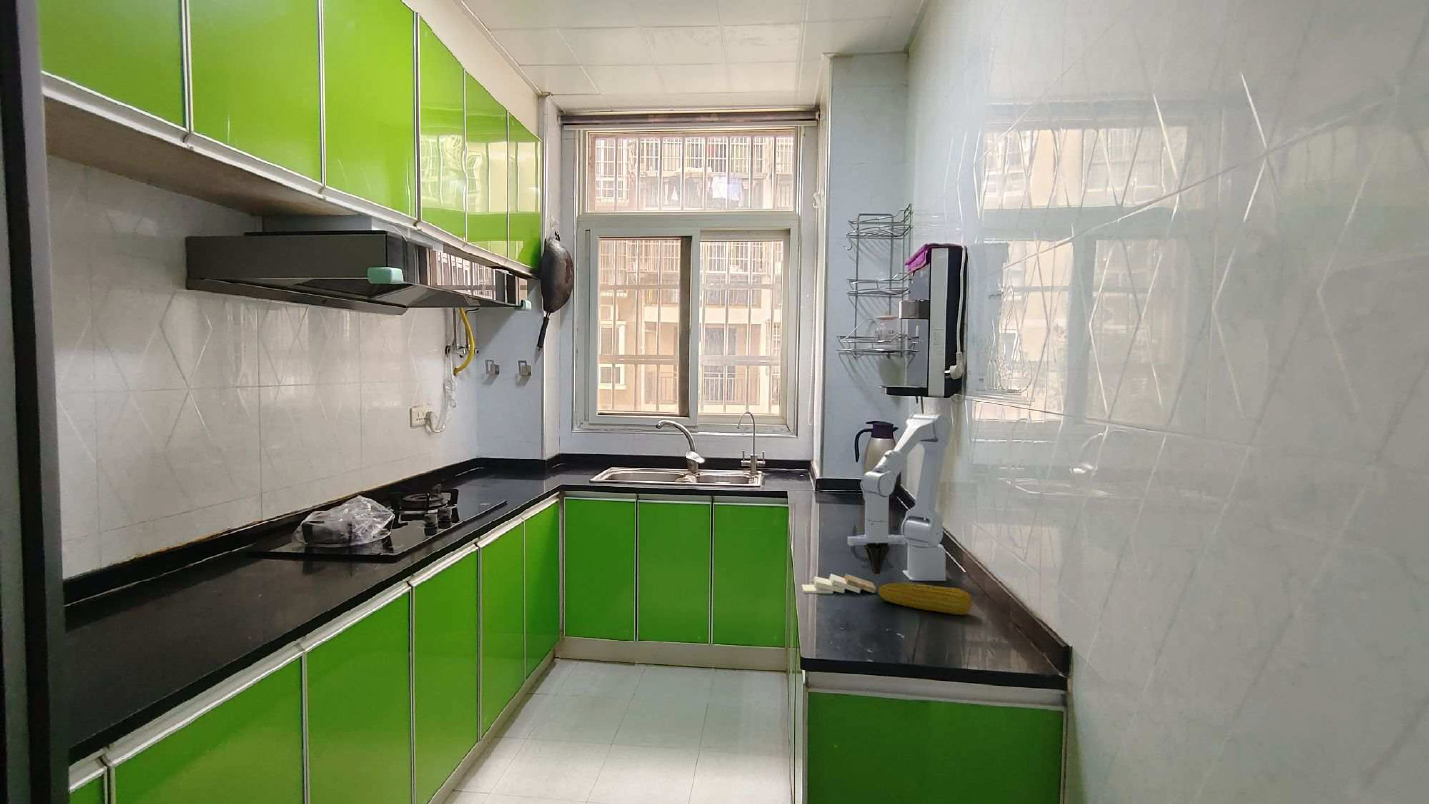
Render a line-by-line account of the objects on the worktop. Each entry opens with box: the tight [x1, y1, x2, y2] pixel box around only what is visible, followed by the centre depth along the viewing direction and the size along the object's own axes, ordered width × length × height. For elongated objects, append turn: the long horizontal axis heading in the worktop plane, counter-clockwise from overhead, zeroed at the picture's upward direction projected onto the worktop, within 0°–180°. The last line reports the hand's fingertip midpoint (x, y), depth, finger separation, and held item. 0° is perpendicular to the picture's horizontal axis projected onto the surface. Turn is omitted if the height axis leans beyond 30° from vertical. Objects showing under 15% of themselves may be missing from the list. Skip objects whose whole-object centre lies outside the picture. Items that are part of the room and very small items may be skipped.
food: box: [878, 582, 973, 616], centre depth 155 cm, size 21×6×6 cm, turn 60°
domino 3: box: [828, 573, 862, 594], centre depth 169 cm, size 1×5×7 cm
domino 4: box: [843, 573, 877, 594], centre depth 168 cm, size 1×5×7 cm
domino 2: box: [813, 576, 845, 594], centre depth 169 cm, size 1×5×7 cm
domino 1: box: [801, 584, 834, 594], centre depth 168 cm, size 1×5×7 cm
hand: (876, 572), depth 168 cm, fingers closed
